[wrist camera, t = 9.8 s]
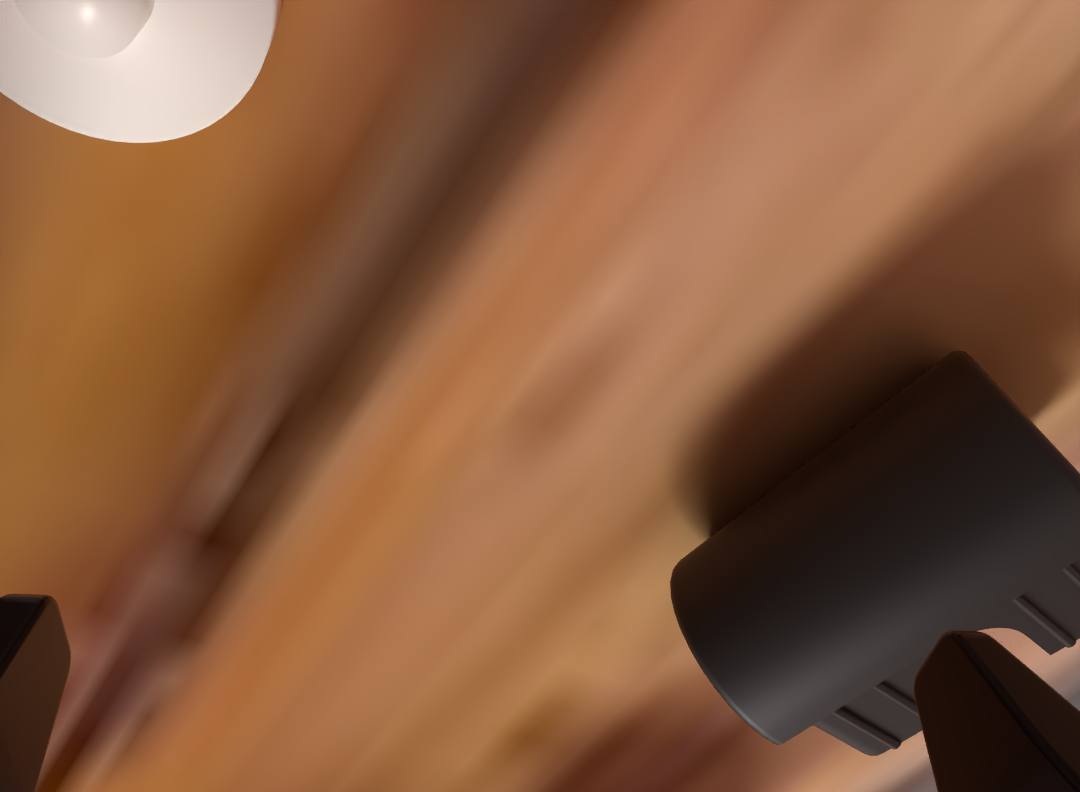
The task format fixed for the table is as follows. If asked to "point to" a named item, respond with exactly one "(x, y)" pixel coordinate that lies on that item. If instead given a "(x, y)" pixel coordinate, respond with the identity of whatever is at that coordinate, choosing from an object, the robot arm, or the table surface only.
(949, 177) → the table surface
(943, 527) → the end cap
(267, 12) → the reel lid
